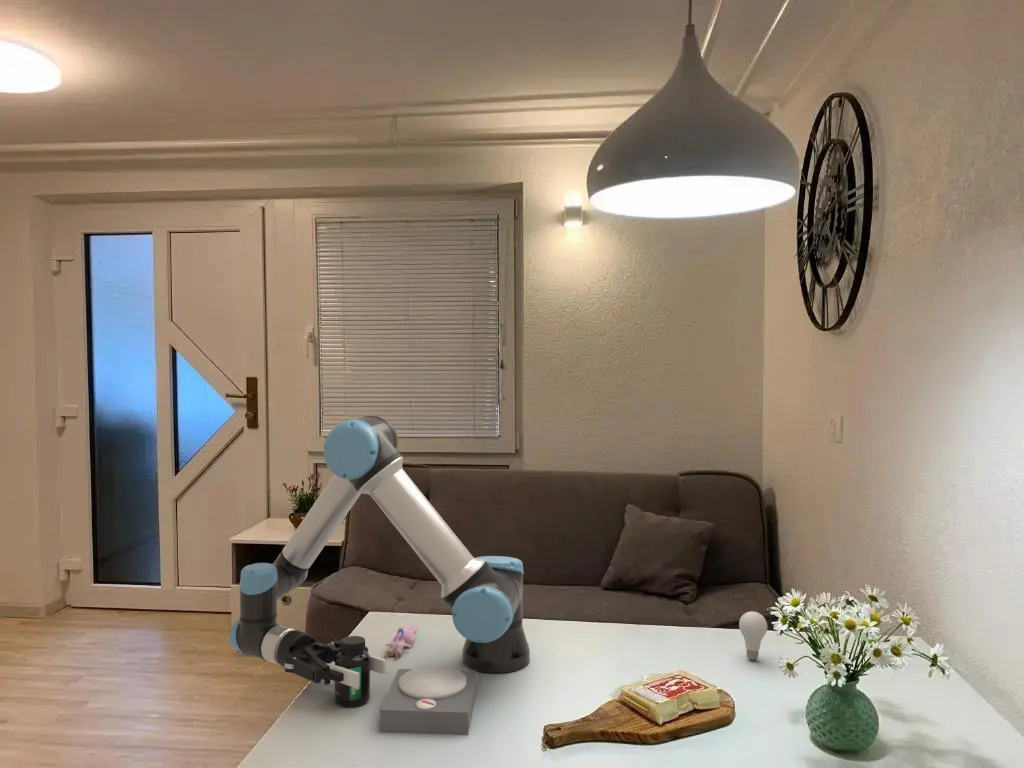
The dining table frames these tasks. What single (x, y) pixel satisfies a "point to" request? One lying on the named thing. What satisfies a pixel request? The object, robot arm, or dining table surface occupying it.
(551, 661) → the dining table surface
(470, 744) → the dining table surface
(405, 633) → the pink unicorn toy
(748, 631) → the lightbulb
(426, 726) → the kitchen scale
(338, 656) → the supplement bottle
